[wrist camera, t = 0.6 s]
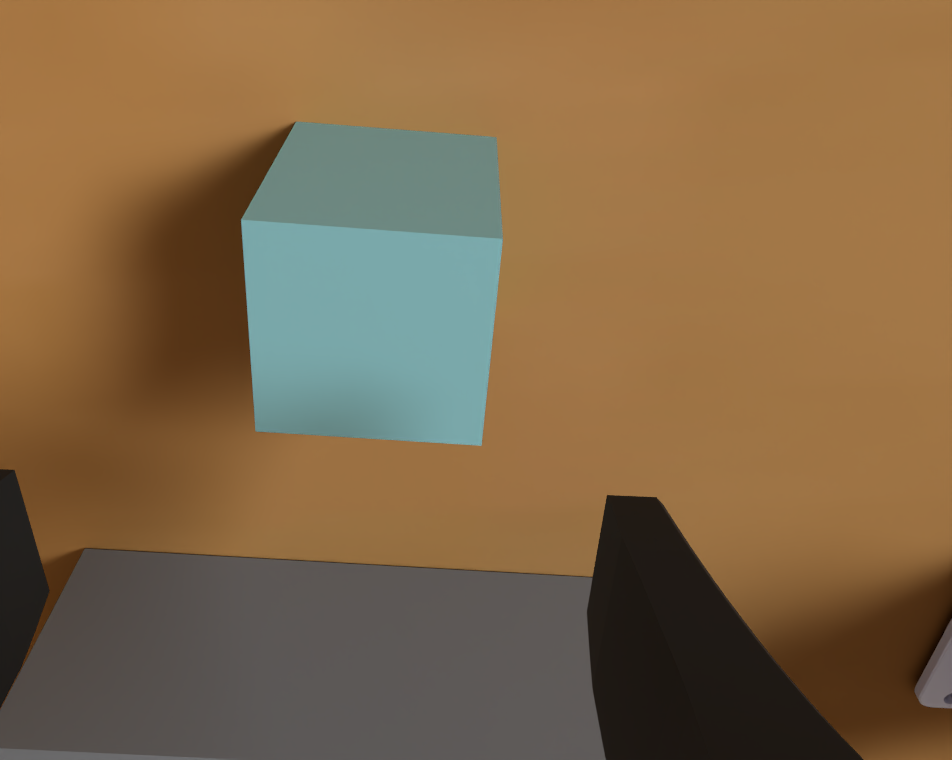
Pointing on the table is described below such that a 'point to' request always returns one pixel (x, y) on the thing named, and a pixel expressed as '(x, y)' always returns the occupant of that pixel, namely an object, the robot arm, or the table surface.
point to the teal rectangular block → (374, 284)
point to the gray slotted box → (304, 664)
